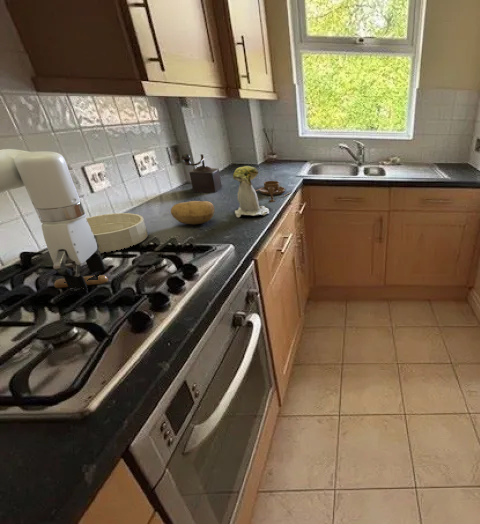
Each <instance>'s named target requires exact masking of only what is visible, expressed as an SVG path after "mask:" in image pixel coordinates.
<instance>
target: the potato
mask: <svg viewBox="0 0 480 524" xmlns="http://www.w3.org/2000/svg"><path fill="white" fill-rule="evenodd" d="M214 214H215V206H214V204H213V203H212V202H210V201H207V200H206V201H205V200H202V201H201V200H199V201H198V200H190V201H186V202H178V203H176V204H174V205H173V206H172V207H171V209H170V215H171V216H172V218H174V219H175V220H177V221H178V222H179V223H181V224H186V225H195V226H196V225H202V224H206V223H207V222H209V221H210V220H212V218H213V217H214V216H215V215H214Z"/></svg>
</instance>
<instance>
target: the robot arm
mask: <svg viewBox="0 0 480 524" xmlns="http://www.w3.org/2000/svg"><path fill="white" fill-rule="evenodd" d="M23 187H24V188H25V190H26V192H27V194H28V196H29V199H30V201H31V203H32V206H33V208H34V210H35V212H36V214H37V217H38V218H39V222H40V223H41V230H42V234H43V239H44V242H45V245H46V248H47V251H48V254H49V256H50V259H51V262H52V264H53V265H52V267H53V269H54V270H55V272H57V274H58V275H59V276H61V279H63V278H64V279H65V281H66V283H67V285H68V287H67V288H68V290H69V289H70V288H75V287H76V288H77V287H79V288H80V287H82V288H84V289H80V290H77V291H74V292H71V293H72V294H74V293H83V292H88V290H89V287H88V285H86V282H85V280H84V277H85V276H84V275H83V274H81V265H83V264H84V263H86V265H87V266H86V267H87V268H88V271H89V273H101V272H102V273H103V272H105V271H106V266H105V264H104V261H103V258H102V256H101V255H102V253H100V251H99V250H98V248H99V245H98V243H97V236H96V235H93V232H92V230H91V228H90V226H89V224H88V222H87V220H86V218H87V217H86V216H87V214H86V212H85V209H84V206H83V204H82V201H81V198H80V197H79V194H78V190H77V187H76V185H75V182H74V180H73V177H72V174H71V172H70V169H69V167H68V163H67V161H66V159H65V157H64V156H63V155H62V154H61V153H60V152H56V151H48V150H47V151H45V150H41V151H29V150H22V149H17V148H16V149H15V148H3V149H0V194H1V193H5V192H7V191H10V190H15V189H19V188H23ZM70 268H73V270H72V269H70ZM87 287H88V288H87Z"/></svg>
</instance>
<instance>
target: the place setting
mask: <svg viewBox="0 0 480 524" xmlns="http://www.w3.org/2000/svg"><path fill="white" fill-rule="evenodd" d="M255 191H256V192H259V193H260V194H262V195H264V196H270V199H268V202H270V203H275V202H276V201H277V200H276V199H274V196H278V195H281V194H284V193H285V191H286V188H285V187H284V186H280V182H279V181H277V180H266V181H264V182H263V186H262V187H260V188H258V189H255ZM291 193H293V192H292V191H290V192H288V193H286V194H284V195H283V197H287V195H289V194H291Z"/></svg>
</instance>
